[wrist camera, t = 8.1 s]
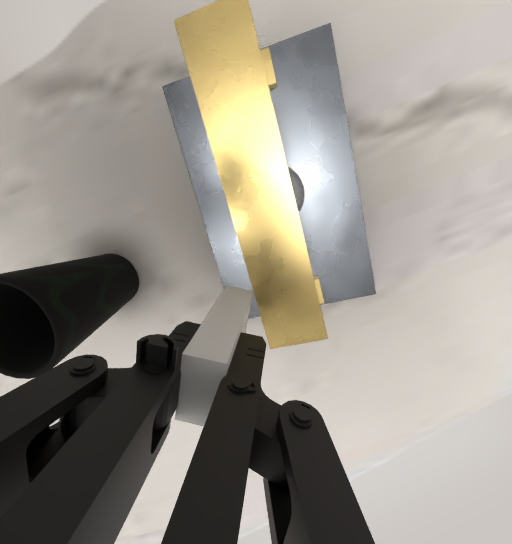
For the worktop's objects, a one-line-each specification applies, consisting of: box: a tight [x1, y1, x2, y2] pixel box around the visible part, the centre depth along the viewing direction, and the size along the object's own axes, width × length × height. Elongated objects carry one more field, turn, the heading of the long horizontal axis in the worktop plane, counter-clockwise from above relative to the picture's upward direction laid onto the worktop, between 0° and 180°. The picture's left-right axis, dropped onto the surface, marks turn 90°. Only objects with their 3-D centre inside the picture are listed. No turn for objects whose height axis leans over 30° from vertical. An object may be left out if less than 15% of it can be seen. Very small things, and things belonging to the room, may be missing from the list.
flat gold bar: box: [174, 0, 328, 349], centre depth 16 cm, size 3×16×7 cm, turn 16°
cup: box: [0, 254, 139, 379], centre depth 24 cm, size 8×8×12 cm
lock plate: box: [162, 23, 376, 318], centre depth 23 cm, size 22×14×6 cm, turn 15°
